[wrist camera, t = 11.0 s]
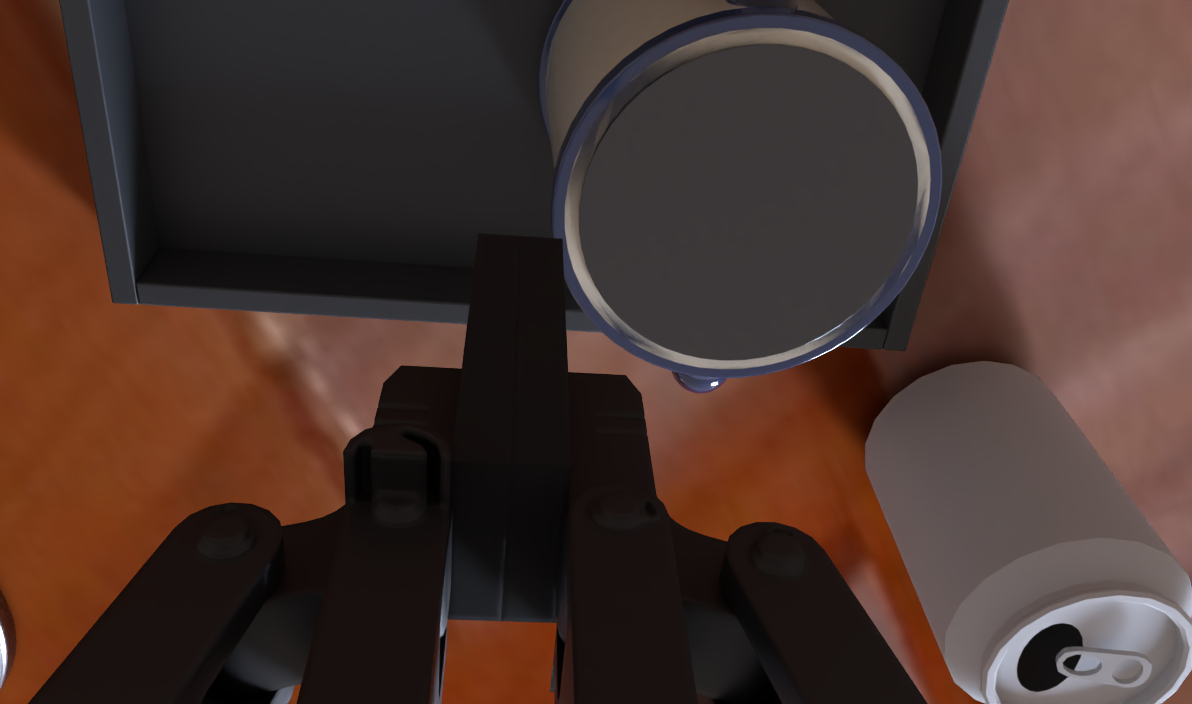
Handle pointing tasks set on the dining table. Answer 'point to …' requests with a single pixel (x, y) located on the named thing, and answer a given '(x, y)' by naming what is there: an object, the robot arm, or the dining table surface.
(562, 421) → the robot arm
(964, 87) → the tray
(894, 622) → the dining table surface
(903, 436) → the can
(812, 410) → the dining table surface
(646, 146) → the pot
